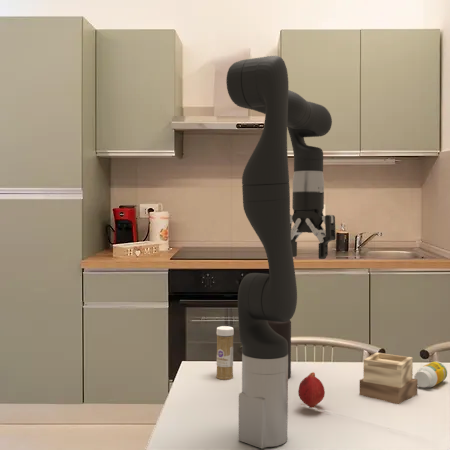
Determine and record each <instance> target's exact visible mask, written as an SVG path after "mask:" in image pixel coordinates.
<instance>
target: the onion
mask: <svg viewBox="0 0 450 450" xmlns="http://www.w3.org/2000/svg"><path fill="white" fill-rule="evenodd" d="M325 395H326V391H325V387H324V384H323V382H322V380H320V379H319V378H317V377H316V373H315V372H313V371H312V372H310V373H309V375H307V376H305V377H304V378H303V379H302V381H301V382H300V383H299V386H298V396H299V400H301V402H303V403H304V404H305V405H307V407H308V408H312V409H313V408H315V407H317V405H318V404H319V403H321V402H322V401H323V399H324V398H325Z"/></svg>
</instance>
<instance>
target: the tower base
mask: <svg viewBox="0 0 450 450" xmlns="http://www.w3.org/2000/svg"><path fill="white" fill-rule="evenodd" d="M363 379H364V377H362V378H360V379H359V396H363V397H367V398H371V399H374V400H379V401H384V402H388V403H392V404H396V405H400V404H401V403H403V402H405V401H408V400H409V399H412V398H413V397H415V396H418V385H417V383H418V380H417V379H414V378H413V377H412V379H411V380H410V381H409V382H408V383H407V384H405V385H404V386H403V387H402V388H399V387H393V386H387V385H381V384H375V383H369V382H364V381H363Z"/></svg>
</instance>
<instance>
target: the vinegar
mask: <svg viewBox="0 0 450 450" xmlns="http://www.w3.org/2000/svg"><path fill="white" fill-rule="evenodd" d="M267 321H268V320H267ZM268 324H269V326H270V327H271V328H272V329H273V330H274V331H275V332H276V333H277V334H279V335H281V336H282V337H284V338H285V339H286V340H287V342H288V380H289V379H290V378H291V377H292V320H291V319H290V320H289V321H287V322H276V321H268Z"/></svg>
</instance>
